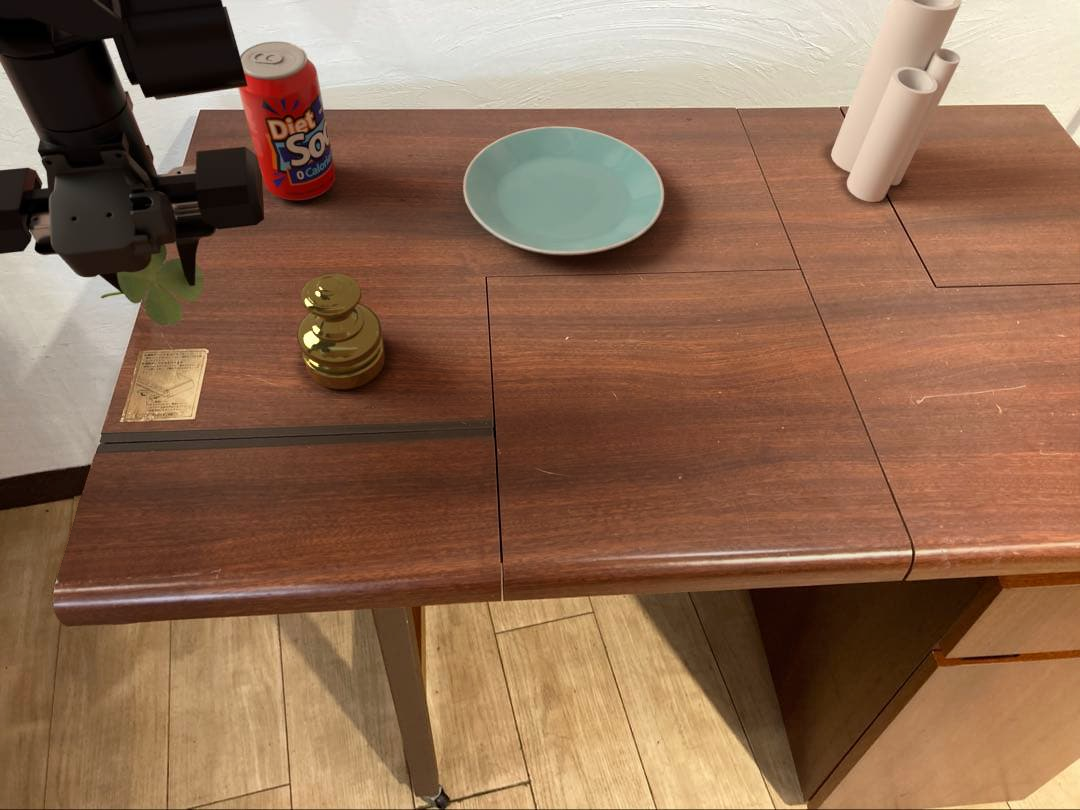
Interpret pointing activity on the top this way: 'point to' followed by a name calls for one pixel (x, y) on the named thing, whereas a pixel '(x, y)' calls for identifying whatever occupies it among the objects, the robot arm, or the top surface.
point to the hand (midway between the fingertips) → (159, 286)
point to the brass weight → (339, 333)
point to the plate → (563, 191)
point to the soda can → (287, 120)
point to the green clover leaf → (160, 288)
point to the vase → (896, 95)
